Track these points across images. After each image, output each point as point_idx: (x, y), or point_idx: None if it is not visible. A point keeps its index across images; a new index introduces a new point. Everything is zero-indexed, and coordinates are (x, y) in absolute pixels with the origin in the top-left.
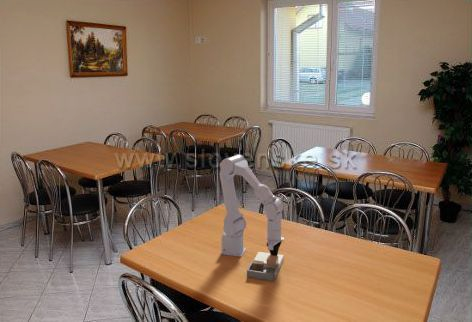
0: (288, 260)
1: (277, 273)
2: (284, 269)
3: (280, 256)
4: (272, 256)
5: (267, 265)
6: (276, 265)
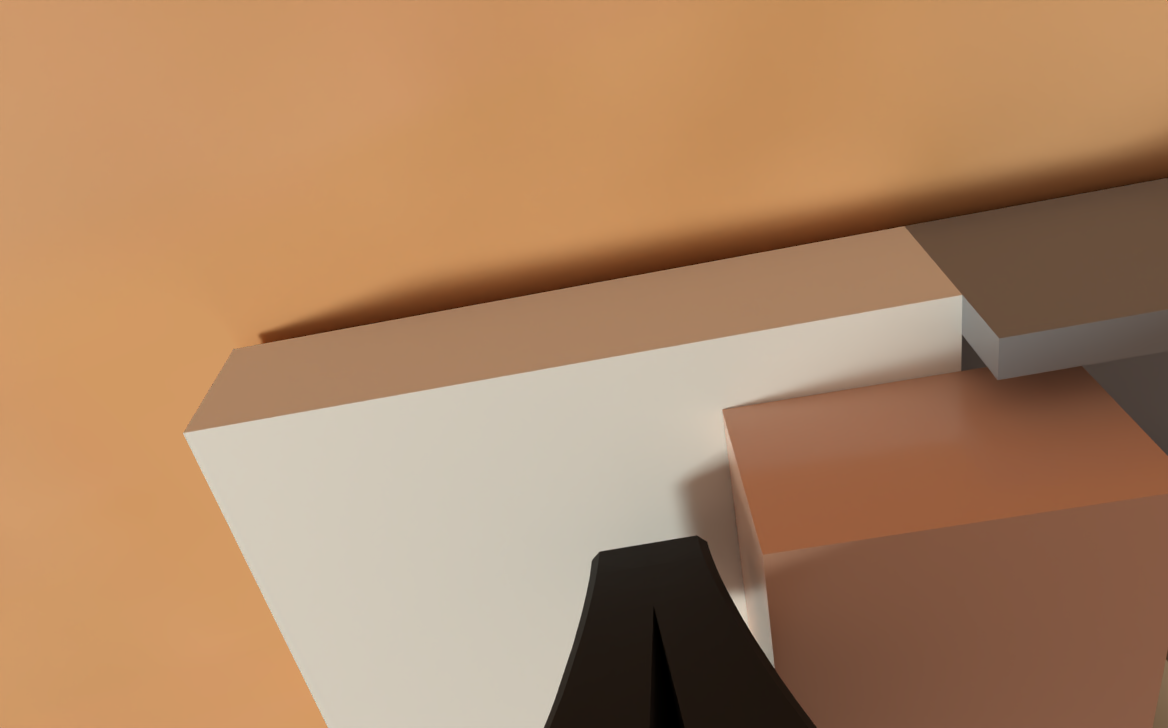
0: (175, 191)
1: (1164, 182)
2: (792, 87)
3: (344, 477)
4: (858, 701)
5: None
6: None
